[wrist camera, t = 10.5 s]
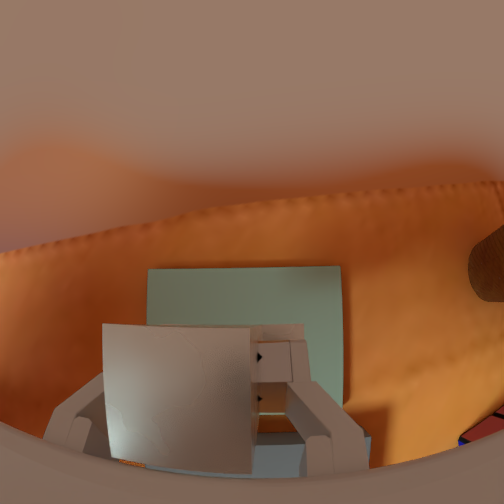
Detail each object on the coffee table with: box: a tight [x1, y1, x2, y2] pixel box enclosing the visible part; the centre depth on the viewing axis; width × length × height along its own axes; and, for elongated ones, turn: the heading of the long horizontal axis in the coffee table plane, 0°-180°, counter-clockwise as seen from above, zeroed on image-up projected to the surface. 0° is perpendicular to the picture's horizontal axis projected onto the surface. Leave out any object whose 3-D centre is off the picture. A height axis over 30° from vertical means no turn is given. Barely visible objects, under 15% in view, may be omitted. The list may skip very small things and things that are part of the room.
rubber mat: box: [147, 266, 343, 415], centre depth 24 cm, size 16×12×1 cm
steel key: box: [102, 323, 304, 474], centre depth 11 cm, size 7×3×11 cm, turn 91°
